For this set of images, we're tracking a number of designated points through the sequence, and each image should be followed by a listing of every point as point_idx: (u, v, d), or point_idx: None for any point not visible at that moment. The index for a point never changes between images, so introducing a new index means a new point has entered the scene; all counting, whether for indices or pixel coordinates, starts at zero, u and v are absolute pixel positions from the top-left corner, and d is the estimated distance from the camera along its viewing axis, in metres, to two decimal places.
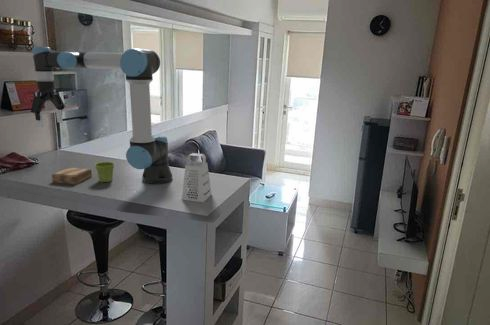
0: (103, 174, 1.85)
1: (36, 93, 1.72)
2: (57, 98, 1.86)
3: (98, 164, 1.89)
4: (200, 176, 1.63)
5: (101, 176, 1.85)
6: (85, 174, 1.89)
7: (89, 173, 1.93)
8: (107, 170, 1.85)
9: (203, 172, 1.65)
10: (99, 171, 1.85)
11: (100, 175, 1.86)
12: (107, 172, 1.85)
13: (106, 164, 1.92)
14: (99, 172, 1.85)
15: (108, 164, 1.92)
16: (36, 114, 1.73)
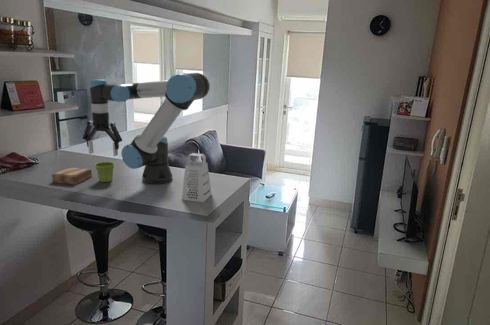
0: (103, 174, 1.85)
1: None
2: None
3: (98, 164, 1.89)
4: (200, 176, 1.63)
5: (101, 176, 1.85)
6: (85, 174, 1.89)
7: (89, 173, 1.93)
8: (107, 170, 1.85)
9: (203, 172, 1.65)
10: (99, 171, 1.85)
11: (100, 175, 1.86)
12: (107, 172, 1.85)
13: (106, 164, 1.92)
14: (99, 172, 1.85)
15: (108, 164, 1.92)
16: None
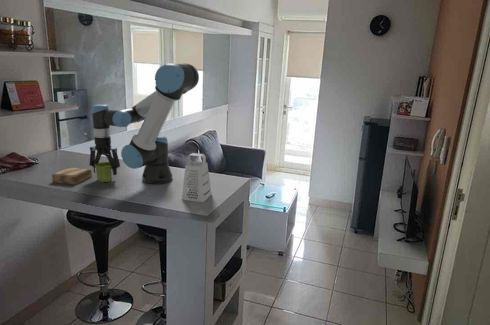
0: (103, 174, 1.85)
1: None
2: None
3: (98, 164, 1.89)
4: (200, 176, 1.63)
5: (101, 176, 1.85)
6: (85, 174, 1.89)
7: (89, 173, 1.93)
8: (107, 170, 1.85)
9: (203, 172, 1.65)
10: (99, 171, 1.85)
11: (100, 175, 1.85)
12: (107, 172, 1.85)
13: (106, 164, 1.92)
14: (99, 172, 1.85)
15: (108, 164, 1.92)
16: None
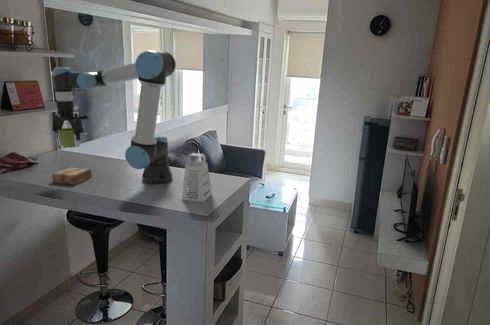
0: (66, 139, 1.81)
1: None
2: None
3: (61, 130, 1.85)
4: (200, 176, 1.63)
5: (64, 141, 1.82)
6: (85, 174, 1.89)
7: (89, 173, 1.93)
8: (70, 135, 1.81)
9: (203, 172, 1.65)
10: (61, 136, 1.81)
11: (63, 140, 1.82)
12: (69, 137, 1.81)
13: (70, 130, 1.88)
14: (61, 137, 1.81)
15: (72, 130, 1.88)
16: None
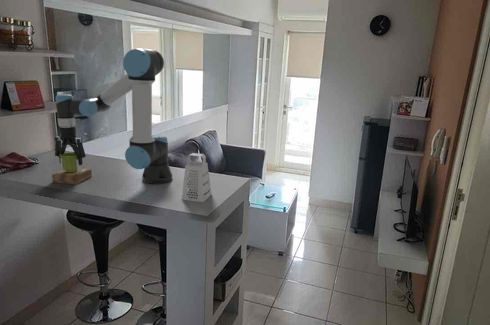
0: (68, 164, 1.84)
1: None
2: None
3: (64, 154, 1.89)
4: (200, 176, 1.63)
5: (66, 166, 1.85)
6: (85, 174, 1.89)
7: (89, 173, 1.93)
8: (72, 160, 1.84)
9: (203, 172, 1.65)
10: (64, 161, 1.84)
11: (65, 165, 1.85)
12: (72, 162, 1.85)
13: (72, 154, 1.91)
14: (64, 162, 1.85)
15: (74, 154, 1.91)
16: None
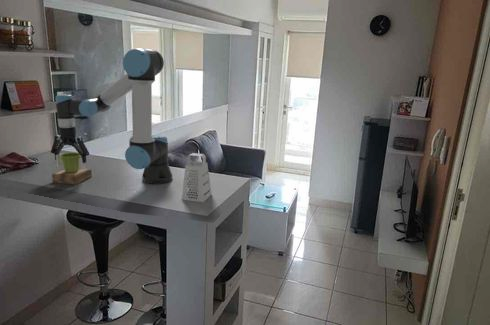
0: (68, 164, 1.84)
1: None
2: None
3: (64, 155, 1.89)
4: (200, 176, 1.63)
5: (66, 167, 1.85)
6: (85, 174, 1.89)
7: (89, 173, 1.93)
8: (72, 160, 1.84)
9: (203, 172, 1.65)
10: (64, 161, 1.84)
11: (65, 165, 1.85)
12: (72, 162, 1.85)
13: (72, 155, 1.91)
14: (64, 163, 1.85)
15: (74, 155, 1.91)
16: None
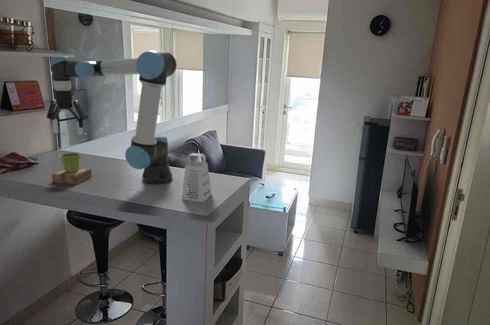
0: (68, 164, 1.84)
1: None
2: None
3: (64, 155, 1.89)
4: (200, 176, 1.63)
5: (66, 167, 1.85)
6: (85, 174, 1.89)
7: (89, 173, 1.93)
8: (72, 160, 1.84)
9: (203, 172, 1.65)
10: (64, 161, 1.84)
11: (65, 165, 1.85)
12: (72, 162, 1.85)
13: (72, 155, 1.91)
14: (64, 163, 1.85)
15: (74, 155, 1.91)
16: None
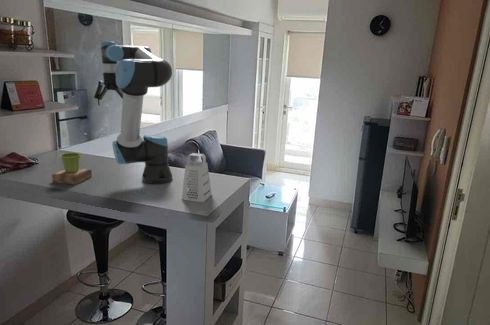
0: (68, 164, 1.84)
1: None
2: None
3: (64, 155, 1.89)
4: (200, 176, 1.63)
5: (66, 167, 1.85)
6: (85, 174, 1.89)
7: (89, 173, 1.93)
8: (72, 160, 1.84)
9: (203, 172, 1.65)
10: (64, 161, 1.84)
11: (65, 165, 1.85)
12: (72, 162, 1.85)
13: (72, 155, 1.91)
14: (64, 163, 1.85)
15: (74, 155, 1.91)
16: None
